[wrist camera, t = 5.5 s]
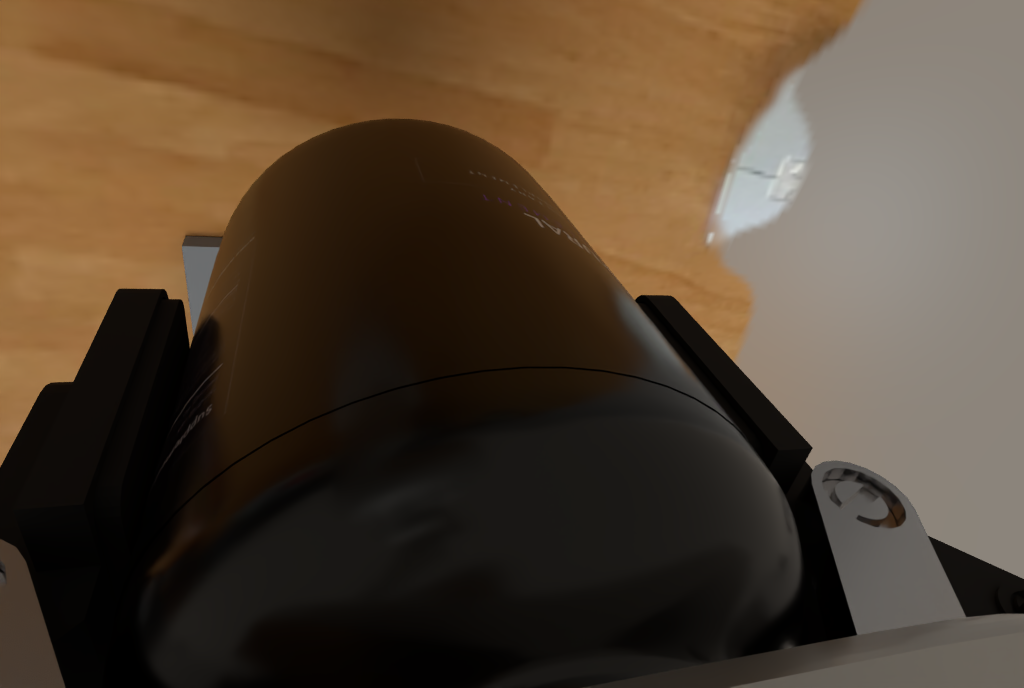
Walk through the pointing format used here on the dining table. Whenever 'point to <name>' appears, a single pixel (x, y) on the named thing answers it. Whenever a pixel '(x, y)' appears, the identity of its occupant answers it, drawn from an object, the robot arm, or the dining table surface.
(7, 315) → the dining table surface
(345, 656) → the supplement bottle
